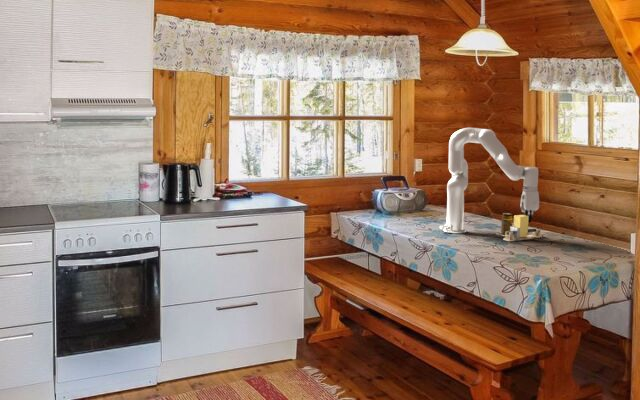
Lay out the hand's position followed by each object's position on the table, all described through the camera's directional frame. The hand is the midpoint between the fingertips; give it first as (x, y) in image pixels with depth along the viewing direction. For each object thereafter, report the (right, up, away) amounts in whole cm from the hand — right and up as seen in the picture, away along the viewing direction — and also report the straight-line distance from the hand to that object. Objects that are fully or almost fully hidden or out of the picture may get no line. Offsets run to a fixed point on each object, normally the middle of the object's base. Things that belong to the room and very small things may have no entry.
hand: (528, 222), depth 386 cm
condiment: (-10, -8, +11) cm, 17 cm away
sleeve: (-5, -8, -1) cm, 9 cm away
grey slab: (-8, -10, -3) cm, 13 cm away
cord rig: (-3, -9, 0) cm, 10 cm away
